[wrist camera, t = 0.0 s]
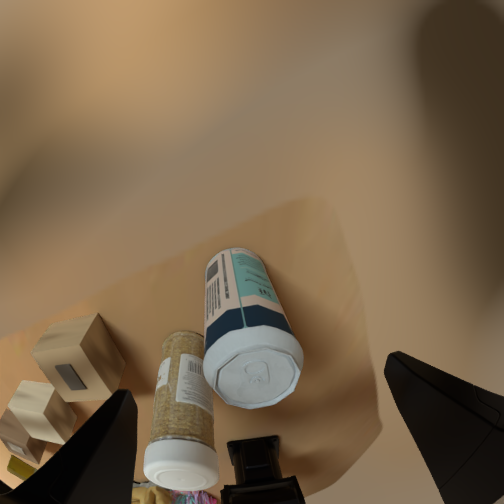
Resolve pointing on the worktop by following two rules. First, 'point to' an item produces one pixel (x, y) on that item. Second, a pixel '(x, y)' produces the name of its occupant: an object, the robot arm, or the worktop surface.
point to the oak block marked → (80, 359)
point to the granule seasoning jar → (182, 419)
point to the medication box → (20, 468)
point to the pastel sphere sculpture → (167, 495)
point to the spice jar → (247, 333)
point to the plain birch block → (43, 412)
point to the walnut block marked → (20, 438)
